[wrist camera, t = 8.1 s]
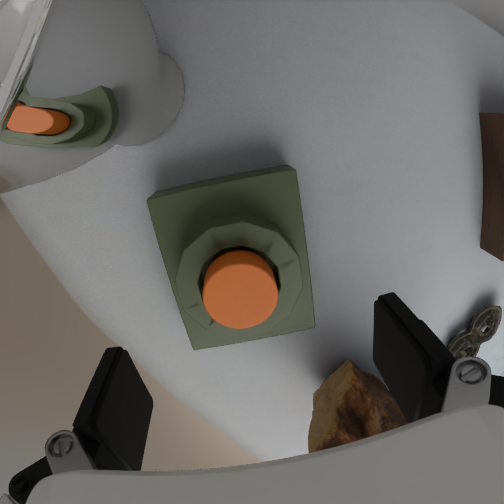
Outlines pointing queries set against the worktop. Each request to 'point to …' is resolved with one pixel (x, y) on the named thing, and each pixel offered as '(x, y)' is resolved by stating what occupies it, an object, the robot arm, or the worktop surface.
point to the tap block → (493, 184)
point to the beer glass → (79, 85)
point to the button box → (235, 247)
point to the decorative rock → (351, 409)
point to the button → (239, 289)
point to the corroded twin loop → (476, 332)
